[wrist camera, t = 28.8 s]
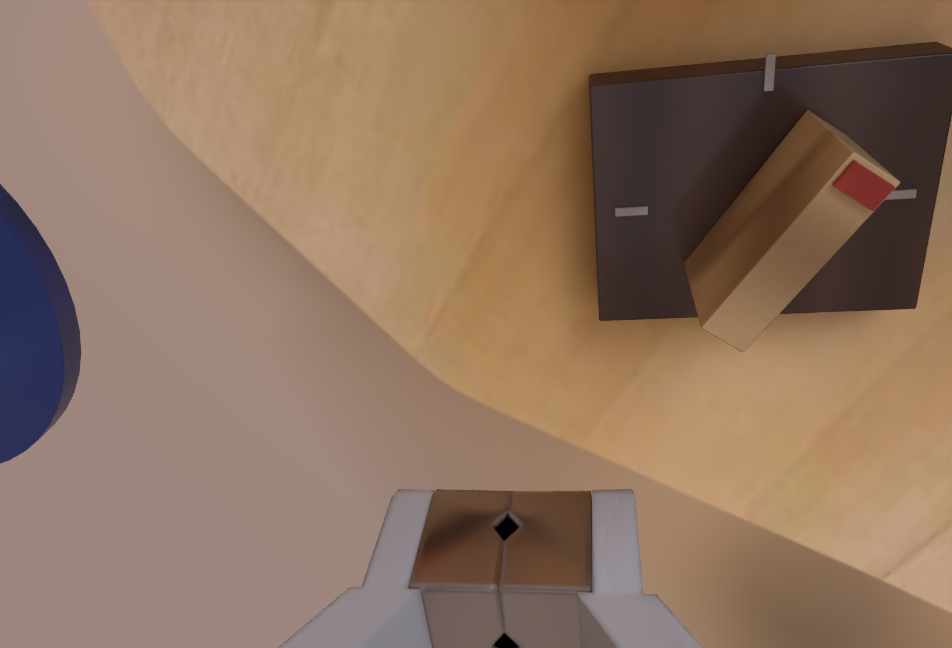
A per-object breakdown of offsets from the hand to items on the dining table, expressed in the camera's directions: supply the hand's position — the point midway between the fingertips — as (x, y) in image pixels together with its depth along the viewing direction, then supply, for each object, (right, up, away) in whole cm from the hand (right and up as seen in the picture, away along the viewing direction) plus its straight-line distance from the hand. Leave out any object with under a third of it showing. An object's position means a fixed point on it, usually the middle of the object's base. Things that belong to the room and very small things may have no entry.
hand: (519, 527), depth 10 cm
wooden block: (+12, +8, +22) cm, 26 cm away
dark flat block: (+12, +9, +25) cm, 29 cm away
